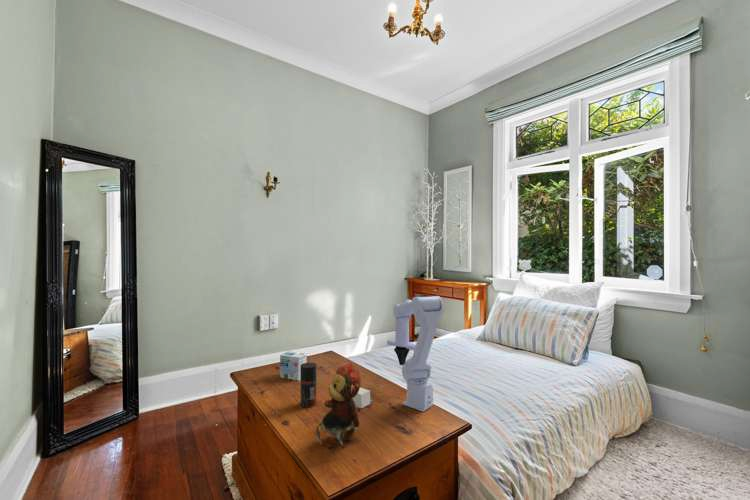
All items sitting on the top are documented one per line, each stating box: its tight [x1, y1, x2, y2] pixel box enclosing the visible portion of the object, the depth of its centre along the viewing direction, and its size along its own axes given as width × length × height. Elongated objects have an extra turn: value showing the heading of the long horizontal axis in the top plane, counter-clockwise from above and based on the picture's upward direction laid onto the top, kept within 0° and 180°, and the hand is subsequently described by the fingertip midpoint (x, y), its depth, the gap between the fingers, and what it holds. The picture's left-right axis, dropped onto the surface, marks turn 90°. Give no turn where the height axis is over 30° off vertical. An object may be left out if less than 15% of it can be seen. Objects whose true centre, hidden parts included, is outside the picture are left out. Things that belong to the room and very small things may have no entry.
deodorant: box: [300, 362, 318, 409], centre depth 131 cm, size 6×6×15 cm
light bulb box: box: [279, 350, 308, 382], centre depth 159 cm, size 11×7×11 cm, turn 68°
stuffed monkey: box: [315, 361, 362, 446], centre depth 105 cm, size 15×17×25 cm
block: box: [353, 386, 371, 409], centre depth 131 cm, size 5×5×9 cm
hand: (402, 364), depth 144 cm, fingers closed
